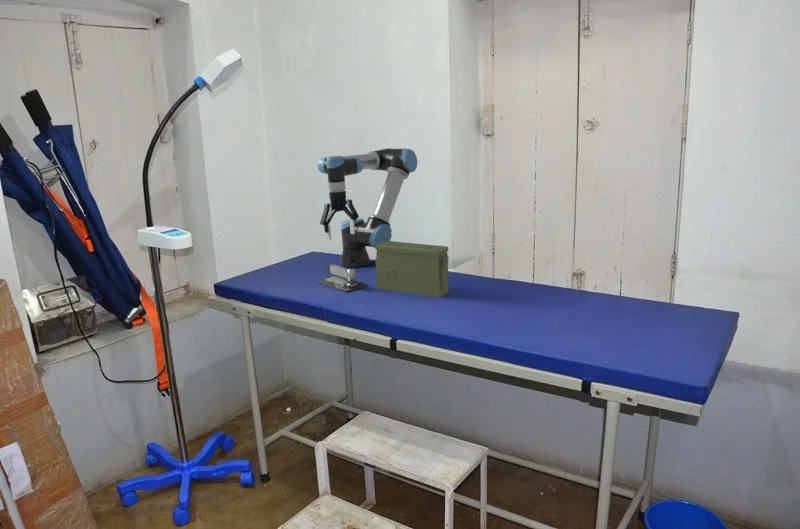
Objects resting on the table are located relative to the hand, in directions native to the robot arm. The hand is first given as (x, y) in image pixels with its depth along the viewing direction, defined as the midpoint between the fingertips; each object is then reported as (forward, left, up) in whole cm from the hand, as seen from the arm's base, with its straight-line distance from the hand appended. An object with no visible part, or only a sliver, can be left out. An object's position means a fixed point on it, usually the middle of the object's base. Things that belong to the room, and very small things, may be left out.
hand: (341, 236), depth 277 cm
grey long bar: (+6, +6, -18) cm, 20 cm away
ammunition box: (-10, +37, -21) cm, 44 cm away
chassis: (+6, +7, -21) cm, 22 cm away
